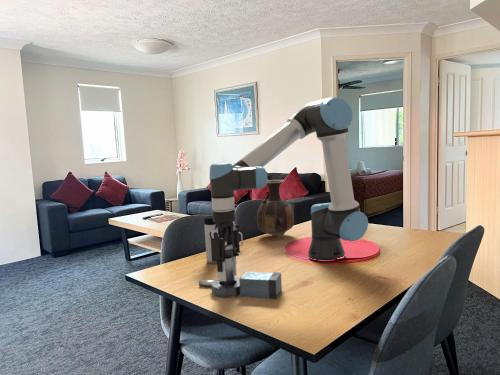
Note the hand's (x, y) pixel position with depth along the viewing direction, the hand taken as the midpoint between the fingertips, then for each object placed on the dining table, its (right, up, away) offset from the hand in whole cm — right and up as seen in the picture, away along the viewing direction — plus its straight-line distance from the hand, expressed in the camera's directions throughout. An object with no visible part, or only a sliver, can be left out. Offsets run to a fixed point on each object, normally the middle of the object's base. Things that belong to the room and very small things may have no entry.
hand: (227, 277), depth 127 cm
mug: (-2, +1, +52) cm, 52 cm away
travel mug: (-8, -2, +34) cm, 35 cm away
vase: (+21, +4, +72) cm, 75 cm away
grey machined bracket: (+3, -5, 0) cm, 6 cm away
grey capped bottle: (0, -5, +1) cm, 5 cm away
